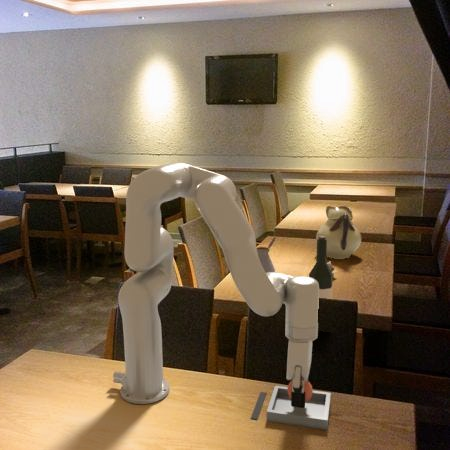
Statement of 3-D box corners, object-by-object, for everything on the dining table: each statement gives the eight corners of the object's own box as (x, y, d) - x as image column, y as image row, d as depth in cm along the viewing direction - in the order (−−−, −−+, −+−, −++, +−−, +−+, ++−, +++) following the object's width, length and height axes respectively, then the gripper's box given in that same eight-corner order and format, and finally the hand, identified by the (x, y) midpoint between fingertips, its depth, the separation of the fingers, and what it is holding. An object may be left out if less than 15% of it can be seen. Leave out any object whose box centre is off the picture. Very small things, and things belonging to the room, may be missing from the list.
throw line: (250, 418, 118) (250, 418, 118) (260, 392, 129) (260, 391, 129) (257, 419, 118) (257, 418, 118) (266, 393, 129) (266, 392, 129)
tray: (266, 421, 117) (266, 411, 116) (275, 394, 128) (275, 385, 128) (327, 430, 113) (327, 420, 113) (330, 401, 125) (330, 392, 124)
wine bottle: (328, 314, 181) (331, 233, 175) (334, 323, 173) (337, 239, 166) (305, 314, 181) (307, 234, 174) (310, 324, 172) (312, 239, 166)
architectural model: (336, 278, 223) (337, 262, 222) (329, 282, 218) (330, 266, 216) (329, 276, 225) (330, 261, 224) (322, 280, 220) (323, 264, 219)
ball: (285, 406, 118) (285, 383, 117) (289, 393, 124) (289, 371, 123) (311, 410, 117) (311, 387, 116) (313, 397, 122) (314, 374, 121)
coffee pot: (269, 281, 218) (269, 248, 215) (245, 277, 224) (245, 245, 220) (286, 268, 237) (287, 238, 234) (264, 265, 242) (264, 235, 239)
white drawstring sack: (334, 248, 273) (335, 203, 268) (371, 257, 255) (373, 209, 250) (307, 256, 259) (308, 208, 254) (344, 266, 241) (346, 215, 236)
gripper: (290, 314, 126) (289, 380, 129) (279, 343, 109) (278, 417, 113) (320, 317, 124) (318, 383, 127) (314, 347, 107) (311, 422, 111)
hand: (299, 398), depth 120 cm, fingers closed on ball, 5 cm apart
